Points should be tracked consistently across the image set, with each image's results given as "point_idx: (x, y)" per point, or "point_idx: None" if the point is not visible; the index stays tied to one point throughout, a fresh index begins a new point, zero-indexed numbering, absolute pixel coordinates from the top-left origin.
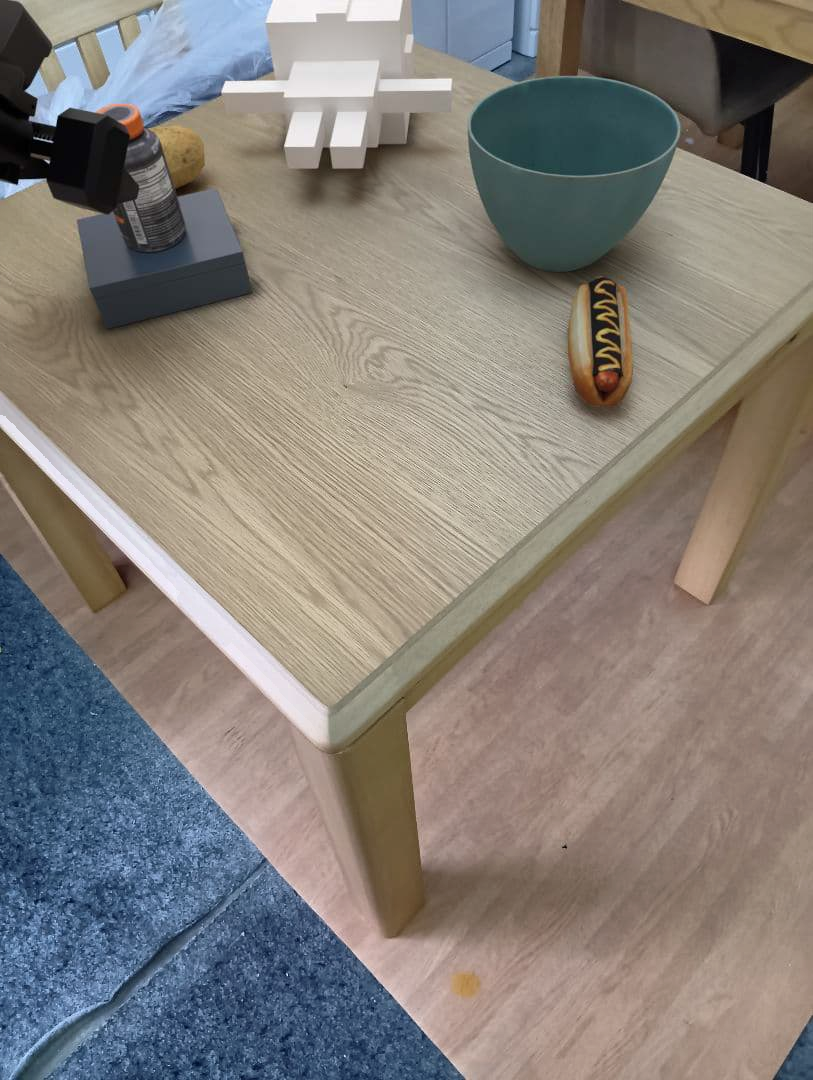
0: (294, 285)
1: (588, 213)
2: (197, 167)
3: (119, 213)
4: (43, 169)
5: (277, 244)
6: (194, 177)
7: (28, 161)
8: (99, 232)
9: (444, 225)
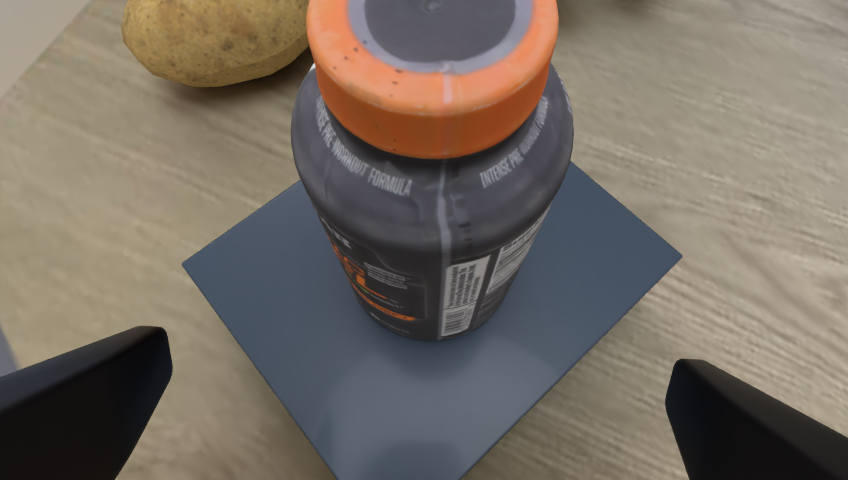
0: (698, 244)
1: None
2: None
3: (406, 311)
4: (142, 379)
5: (580, 143)
6: None
7: (67, 447)
8: (273, 294)
9: (823, 22)
